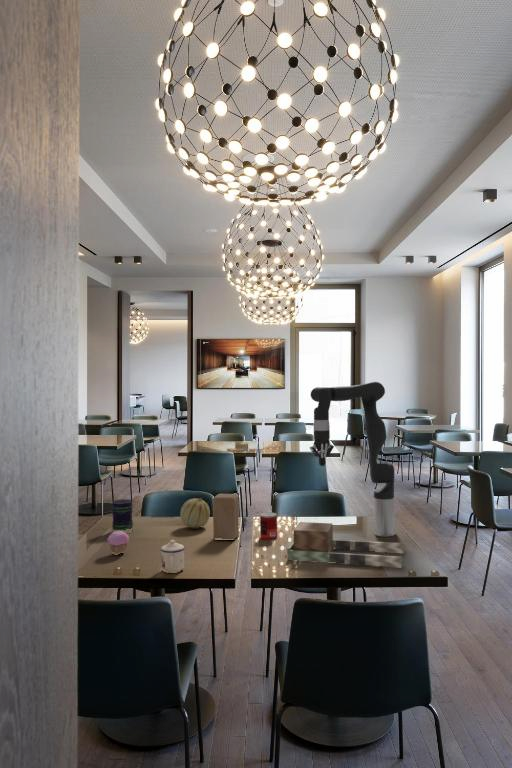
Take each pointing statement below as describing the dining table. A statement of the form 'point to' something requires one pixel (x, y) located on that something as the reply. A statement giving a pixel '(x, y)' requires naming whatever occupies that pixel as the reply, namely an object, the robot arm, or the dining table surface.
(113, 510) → the navy striped cylinder
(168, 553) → the teacup with lid
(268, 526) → the canned food
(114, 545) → the cupcake
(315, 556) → the tray
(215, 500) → the block
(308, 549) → the walnut block
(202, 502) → the cantaloupe
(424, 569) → the dining table surface
